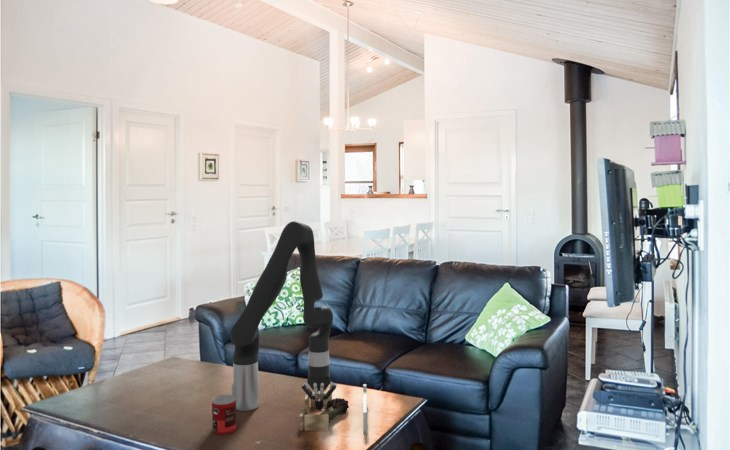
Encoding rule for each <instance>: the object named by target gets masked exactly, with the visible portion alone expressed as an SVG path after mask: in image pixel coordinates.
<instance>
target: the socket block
mask: <svg viewBox="0 0 730 450" xmlns="http://www.w3.org/2000/svg"><path fill="white" fill-rule="evenodd" d="M327 392H328V391H327ZM327 392H326V391H325V392H324V395H325V394H326V393H327ZM312 393H313V394H314V392H312ZM332 399H333V393H332V394H331V395H330V396H329V398H328V399H324V400H323V408H324V407H325V408H326V406H327V402H328V401H329V400H332ZM319 400H320V392H319ZM309 408H315V400H314V399H310V398H309V396H308V395H307V394H306V393H305V397H304V408H301V411H300V414H299V431H329V430H330V429H329V427H330V423H329V416H328V414H321V413H319V414H318V413H316V414H315V413H314V414H306V413H308V411H309Z"/></svg>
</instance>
